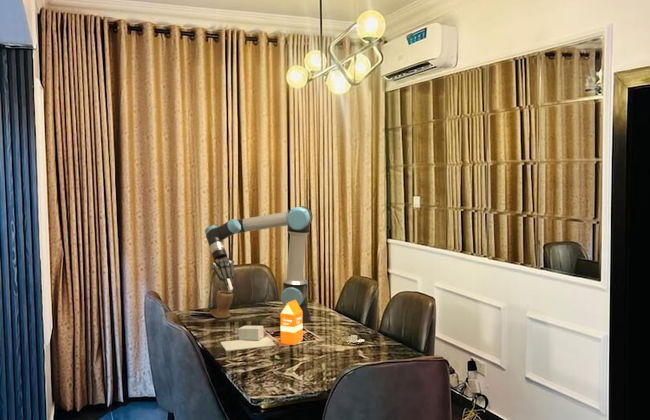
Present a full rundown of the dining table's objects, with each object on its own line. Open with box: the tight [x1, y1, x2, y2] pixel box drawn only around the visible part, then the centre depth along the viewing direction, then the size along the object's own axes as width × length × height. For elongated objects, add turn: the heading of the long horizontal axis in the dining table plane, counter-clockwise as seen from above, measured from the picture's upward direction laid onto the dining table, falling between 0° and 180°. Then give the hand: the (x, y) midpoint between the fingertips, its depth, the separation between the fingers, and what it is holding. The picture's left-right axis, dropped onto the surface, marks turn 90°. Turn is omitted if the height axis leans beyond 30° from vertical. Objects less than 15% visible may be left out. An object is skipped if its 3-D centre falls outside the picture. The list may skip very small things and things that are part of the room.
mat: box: [219, 336, 277, 352], centre depth 277 cm, size 24×15×1 cm, turn 111°
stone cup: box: [209, 290, 234, 319], centre depth 333 cm, size 15×12×15 cm
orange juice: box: [280, 300, 304, 346], centre depth 280 cm, size 8×9×20 cm
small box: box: [238, 325, 265, 340], centre depth 286 cm, size 8×6×10 cm
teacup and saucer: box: [347, 334, 365, 343], centre depth 278 cm, size 9×8×4 cm
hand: (231, 290), depth 298 cm, fingers closed
